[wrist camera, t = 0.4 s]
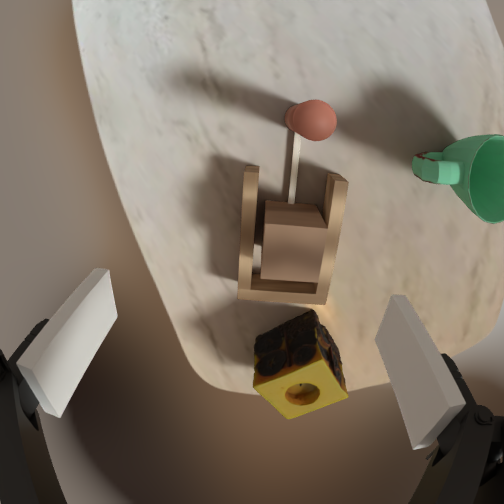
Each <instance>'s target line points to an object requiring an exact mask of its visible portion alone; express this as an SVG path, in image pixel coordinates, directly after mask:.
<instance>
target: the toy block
mask: <svg viewBox="0 0 504 504" xmlns="http://www.w3.org/2000/svg"><path fill="white" fill-rule="evenodd" d="M254 351H255V352H254V358H255V361H254V370H255V373H254V380H253V388H254V389H255V390H256V391H257V392H258V393H259V394H260V395H261V396H263V397H264V398H265V399H266V400H267V401H268V402H269V403H270V404H272V405H273V406H274V407H275V408H276V409H277V410H278V411H279V412H280V413H281V414H282V415H283V416H284V417H285V418H286V419H291V418H295V417H297V416H300V415H303V414H305V413H308V412H311V411H314V410H317V409H319V408H322V407H324V406H327V405H329V404H332V403H335V402H337V401H340V400H343V399H346V398H348V393H347V389H346V385H345V378H344V375H343V372H342V362H341V360H340V355H339V354H340V353H339V350H338V347H337V346H336V344H335V343H334V340H333V339H332V337H331V336H330V334H329V332H328V331H327V329H325V326H322V325H320V322H319V318H318V315H317V314H316V312H315V311H314V310H311V311H310V312H309V313H305V314H303V315H302V316H299V317H296V318H294V319H293V320H290V321H288V322H286V323H284V324H283V325H280V326H278V327H277V328H274V329H273V330H271V331H269V332H267V333H265V334H262V335H259V336H258V337H257V338H256V343H255V345H254Z"/></svg>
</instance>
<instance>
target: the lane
mask: <svg viewBox="0 0 504 504" xmlns="http://www.w3.org/2000/svg"><path fill="white" fill-rule="evenodd" d="M258 179H259V167H258V166H246V168H245V171H244V180H243V198H242V216H241V234H240V254H239V274H238V295H237V299H242V300H255V301H269V302H284V303H300V304H319V305H325V304H326V300H327V295H328V291H329V286H330V282H331V277H332V272H333V268H334V263H335V258H336V253H337V247H338V242H339V237H340V231H341V226H342V220H343V214H344V208H345V202H346V196H347V189H348V181H347V180H346V179H344V178H343V177H342V176H341V175H338V174H330V173H328V175H327V183H326V191H325V198H324V205H323V212H322V218H323V220H324V222H325V224H326V226H327V228H328V230H327V236H326V242H325V248H324V254H323V259H322V265H321V270H320V275H319V281H318V283H316V282H300V281H286V280H271V279H261V274H252V262H253V249H254V235H255V221H256V207H257V193H258Z"/></svg>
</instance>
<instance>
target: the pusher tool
mask: <svg viewBox="0 0 504 504" xmlns="http://www.w3.org/2000/svg"><path fill="white" fill-rule="evenodd" d="M285 123H286V125H287V127H288V128H289V129H290V130H292V131H294V143H293V154H292V165H291V175H290V185H289V195H288V202H281V201H269V200H265V212H264V224H263V236H262V251H261V279H271V280H286V281H300V282H316V283H318V281H319V275H320V270H321V265H322V259H323V254H324V248H325V242H326V236H327V230H328V228H327V226H326V224H325V222H324V220H323V218H322V216H321V215H320V213H319V211H318V209H317V207H316V205H314V204H303V203H294V201H295V191H296V182H297V172H298V163H299V152H300V142H301V136H303V137H304V138H306V139H308V140H312V141H321V140H324V139H326V138H328V137H329V136H330V135H331V134H332V133H333V132H334V130H335V128H336V123H337V119H336V115H335V112H334V110H333V109H332V108H331V107H330V106H329V105H328V104H327V103H325V102H323V101H320V100H309V101H306V102H303V103H300V104H297V105H295V106H292V107H290V108H289V109H288V110H287V111H286V113H285Z"/></svg>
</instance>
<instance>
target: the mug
mask: <svg viewBox="0 0 504 504" xmlns="http://www.w3.org/2000/svg"><path fill="white" fill-rule="evenodd" d="M412 170H413V173H414V175H415V176H417V177H418V178H420V179H421V180H422V181H425V182H429V183H434V184H446V185H450V186H451V187H452V189H453V190H454V191H455V193H456V194H457V196H458V197H459V198H460V199H461V200H462V201H463V202H464V203H465V204H466V206H467V207H468V208H469V209H470V210H471V211H472V212H473V213H474V214H475V215H476V216H478V217H479V218H480V219H481V220H483V221H484V222H488V223H492V224H495V223H499V222H502V221H504V136H503V135H498V134H494V135H479V136H472V137H468V138H465V139H462V140H459V141H457V142H455V143H453V144H451V145H449V146H447V147H446V148H445V149H444V150H443V152H423V153H420V154H416V155H415V156H414V158H413V160H412Z"/></svg>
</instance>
